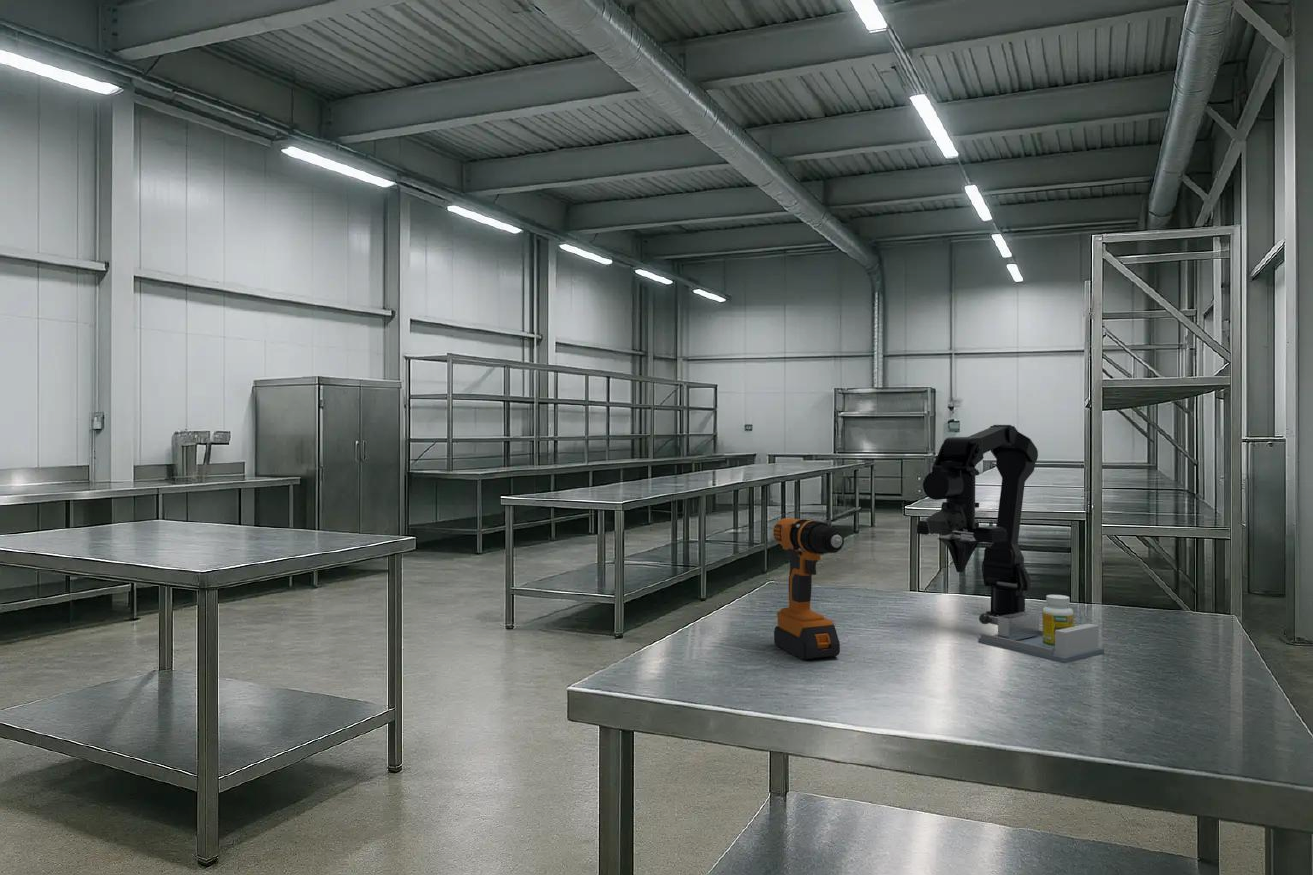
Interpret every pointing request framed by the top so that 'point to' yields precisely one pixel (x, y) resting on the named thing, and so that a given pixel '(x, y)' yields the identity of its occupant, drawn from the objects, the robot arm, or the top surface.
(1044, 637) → the supplement bottle
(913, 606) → the top surface
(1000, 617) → the sliding jaw
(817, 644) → the power drill
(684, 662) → the top surface
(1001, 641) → the vise base
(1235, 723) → the top surface
